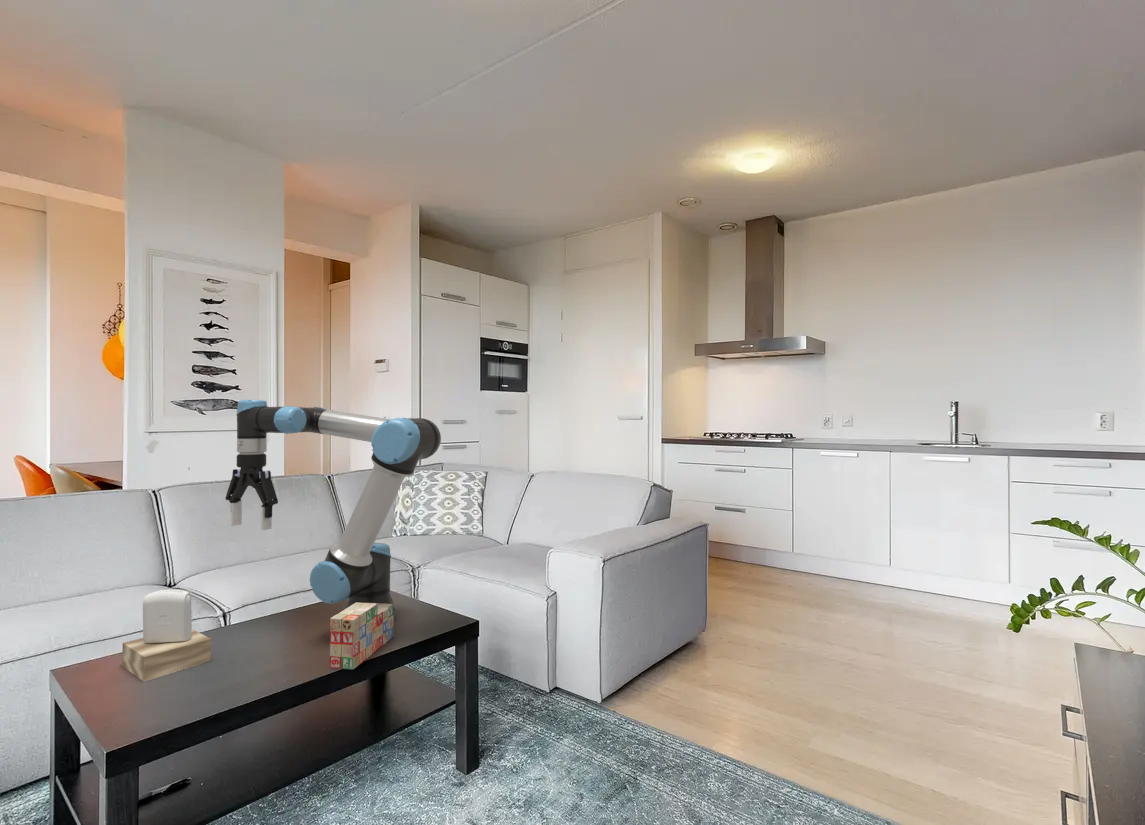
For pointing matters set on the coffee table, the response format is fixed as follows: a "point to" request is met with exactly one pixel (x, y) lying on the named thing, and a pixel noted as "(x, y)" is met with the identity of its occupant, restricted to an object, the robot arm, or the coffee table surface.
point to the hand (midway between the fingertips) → (250, 527)
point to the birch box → (165, 656)
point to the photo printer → (167, 616)
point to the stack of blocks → (359, 633)
